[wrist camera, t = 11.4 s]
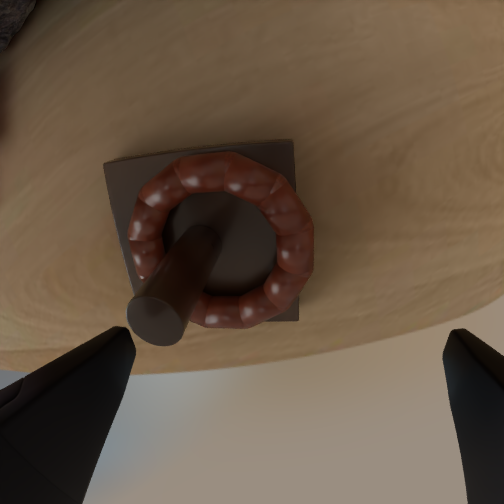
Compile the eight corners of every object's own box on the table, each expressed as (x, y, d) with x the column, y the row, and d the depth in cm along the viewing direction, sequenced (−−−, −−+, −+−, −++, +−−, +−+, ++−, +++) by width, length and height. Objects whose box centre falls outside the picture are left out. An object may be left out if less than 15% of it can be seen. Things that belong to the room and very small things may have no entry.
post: (298, 308, 17) (298, 415, 11) (148, 306, 18) (94, 393, 12) (292, 138, 13) (296, 163, 7) (114, 159, 15) (15, 200, 8)
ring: (312, 314, 16) (313, 334, 14) (158, 313, 17) (148, 331, 15) (309, 144, 12) (312, 148, 11) (124, 163, 13) (106, 170, 12)
